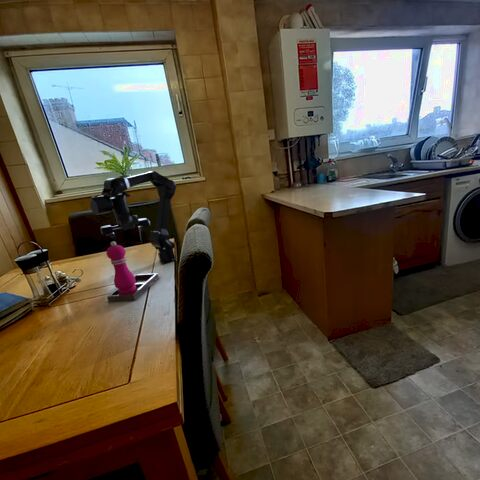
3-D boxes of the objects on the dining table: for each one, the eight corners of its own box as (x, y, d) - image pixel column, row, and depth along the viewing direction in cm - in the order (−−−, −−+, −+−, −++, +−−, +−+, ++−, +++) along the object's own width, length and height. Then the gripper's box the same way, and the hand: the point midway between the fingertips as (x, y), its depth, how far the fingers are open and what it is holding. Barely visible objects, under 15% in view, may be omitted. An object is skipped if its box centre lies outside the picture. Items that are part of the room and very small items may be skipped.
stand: (158, 277, 117) (157, 273, 116) (134, 300, 99) (133, 294, 98) (136, 279, 118) (134, 274, 117) (108, 301, 100) (106, 296, 99)
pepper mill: (142, 287, 107) (128, 237, 100) (132, 296, 100) (115, 243, 93) (125, 288, 108) (109, 239, 101) (113, 297, 101) (96, 245, 94)
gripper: (97, 216, 104) (110, 255, 109) (148, 207, 113) (157, 243, 119) (95, 213, 113) (106, 249, 118) (142, 205, 122) (151, 239, 127)
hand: (131, 245), depth 120 cm, fingers open, 9 cm apart
